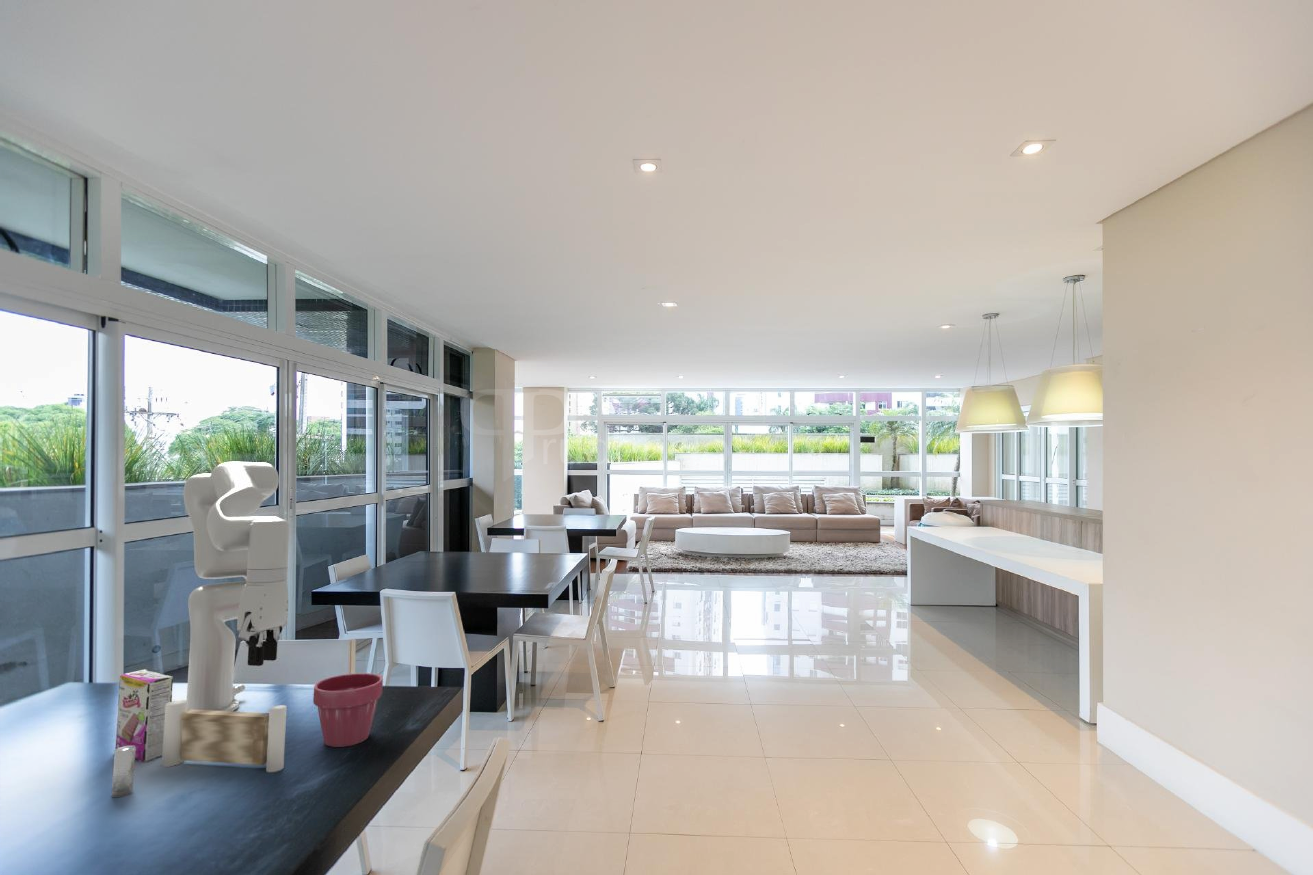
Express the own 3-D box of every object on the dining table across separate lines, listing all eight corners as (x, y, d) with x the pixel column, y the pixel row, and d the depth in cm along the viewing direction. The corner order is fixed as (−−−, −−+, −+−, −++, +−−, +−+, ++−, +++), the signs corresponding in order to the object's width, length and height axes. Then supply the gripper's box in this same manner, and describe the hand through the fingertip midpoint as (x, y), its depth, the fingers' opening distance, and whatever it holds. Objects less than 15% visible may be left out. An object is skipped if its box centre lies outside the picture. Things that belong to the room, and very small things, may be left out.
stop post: (122, 788, 120) (125, 744, 120) (136, 789, 120) (139, 745, 120) (107, 796, 117) (110, 751, 117) (122, 797, 117) (125, 752, 117)
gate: (179, 760, 130) (182, 713, 131) (188, 755, 132) (191, 709, 133) (261, 765, 128) (264, 717, 129) (269, 760, 130) (271, 713, 131)
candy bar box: (112, 753, 135) (118, 674, 136) (139, 744, 140) (145, 668, 141) (142, 763, 130) (148, 681, 132) (169, 754, 135) (175, 675, 136)
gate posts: (172, 758, 133) (175, 699, 134) (287, 765, 131) (290, 705, 131) (156, 765, 130) (161, 705, 130) (275, 773, 127) (278, 711, 128)
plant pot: (336, 725, 152) (338, 670, 153) (392, 728, 151) (394, 673, 152) (296, 750, 138) (299, 689, 139) (358, 753, 136) (360, 692, 137)
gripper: (277, 570, 147) (272, 651, 146) (221, 581, 131) (215, 673, 129) (307, 571, 146) (303, 653, 145) (255, 582, 130) (250, 674, 129)
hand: (262, 661), depth 137 cm, fingers open, 3 cm apart
